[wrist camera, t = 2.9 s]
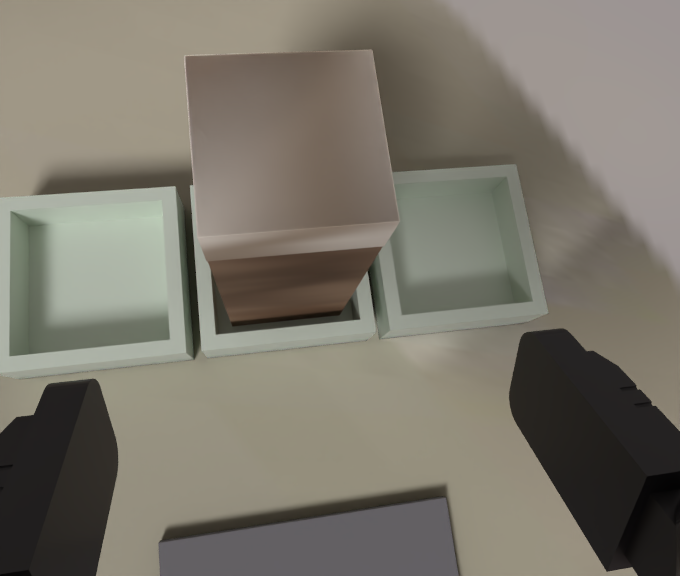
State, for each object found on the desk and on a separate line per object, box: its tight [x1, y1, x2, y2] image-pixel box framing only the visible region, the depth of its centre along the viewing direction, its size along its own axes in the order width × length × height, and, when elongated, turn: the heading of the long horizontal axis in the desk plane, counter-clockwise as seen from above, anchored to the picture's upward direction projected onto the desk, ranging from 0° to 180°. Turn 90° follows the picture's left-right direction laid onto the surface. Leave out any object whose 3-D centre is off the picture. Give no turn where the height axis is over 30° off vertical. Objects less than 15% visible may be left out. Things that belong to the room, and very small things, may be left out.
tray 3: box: [369, 164, 548, 339], centre depth 22 cm, size 6×6×2 cm
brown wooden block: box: [184, 50, 400, 326], centre depth 16 cm, size 4×4×10 cm
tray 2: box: [190, 185, 376, 358], centre depth 21 cm, size 6×6×2 cm
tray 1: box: [0, 186, 194, 379], centre depth 20 cm, size 6×6×2 cm
